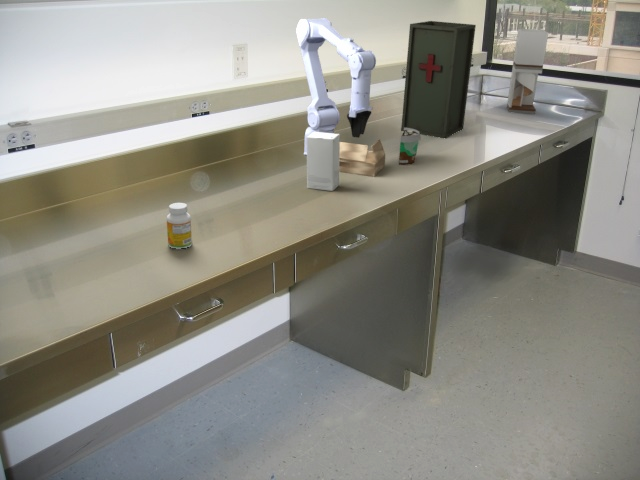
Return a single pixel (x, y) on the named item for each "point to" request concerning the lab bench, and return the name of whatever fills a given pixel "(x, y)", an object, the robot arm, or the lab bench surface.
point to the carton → (362, 165)
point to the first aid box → (437, 77)
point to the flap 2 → (378, 150)
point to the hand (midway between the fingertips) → (358, 135)
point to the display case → (526, 69)
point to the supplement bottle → (179, 226)
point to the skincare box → (323, 161)
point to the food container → (408, 146)
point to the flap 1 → (353, 151)
